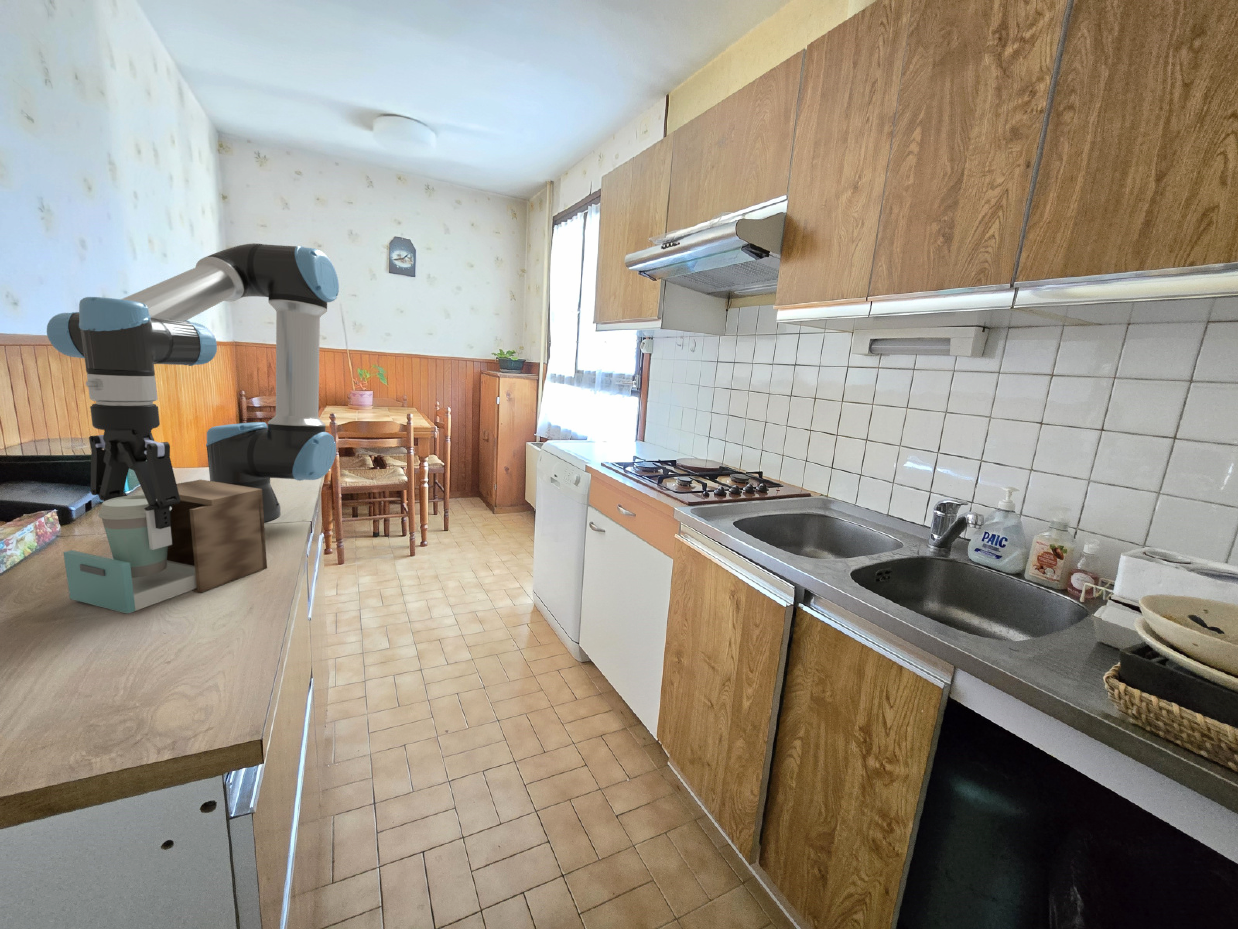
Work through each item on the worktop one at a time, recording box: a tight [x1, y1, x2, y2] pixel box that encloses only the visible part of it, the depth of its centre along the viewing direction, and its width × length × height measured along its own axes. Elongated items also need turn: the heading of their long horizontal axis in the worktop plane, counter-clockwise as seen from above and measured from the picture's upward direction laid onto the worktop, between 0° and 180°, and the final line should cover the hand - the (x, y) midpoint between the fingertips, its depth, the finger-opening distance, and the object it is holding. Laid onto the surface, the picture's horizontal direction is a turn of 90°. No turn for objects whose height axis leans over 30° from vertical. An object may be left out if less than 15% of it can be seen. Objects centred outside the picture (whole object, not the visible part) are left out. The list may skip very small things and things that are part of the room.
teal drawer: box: [62, 549, 197, 614], centre depth 82 cm, size 12×13×8 cm
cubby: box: [167, 479, 268, 594], centre depth 91 cm, size 12×15×16 cm
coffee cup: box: [97, 494, 172, 578], centre depth 81 cm, size 9×9×12 cm
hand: (140, 542), depth 82 cm, fingers closed on coffee cup, 8 cm apart
